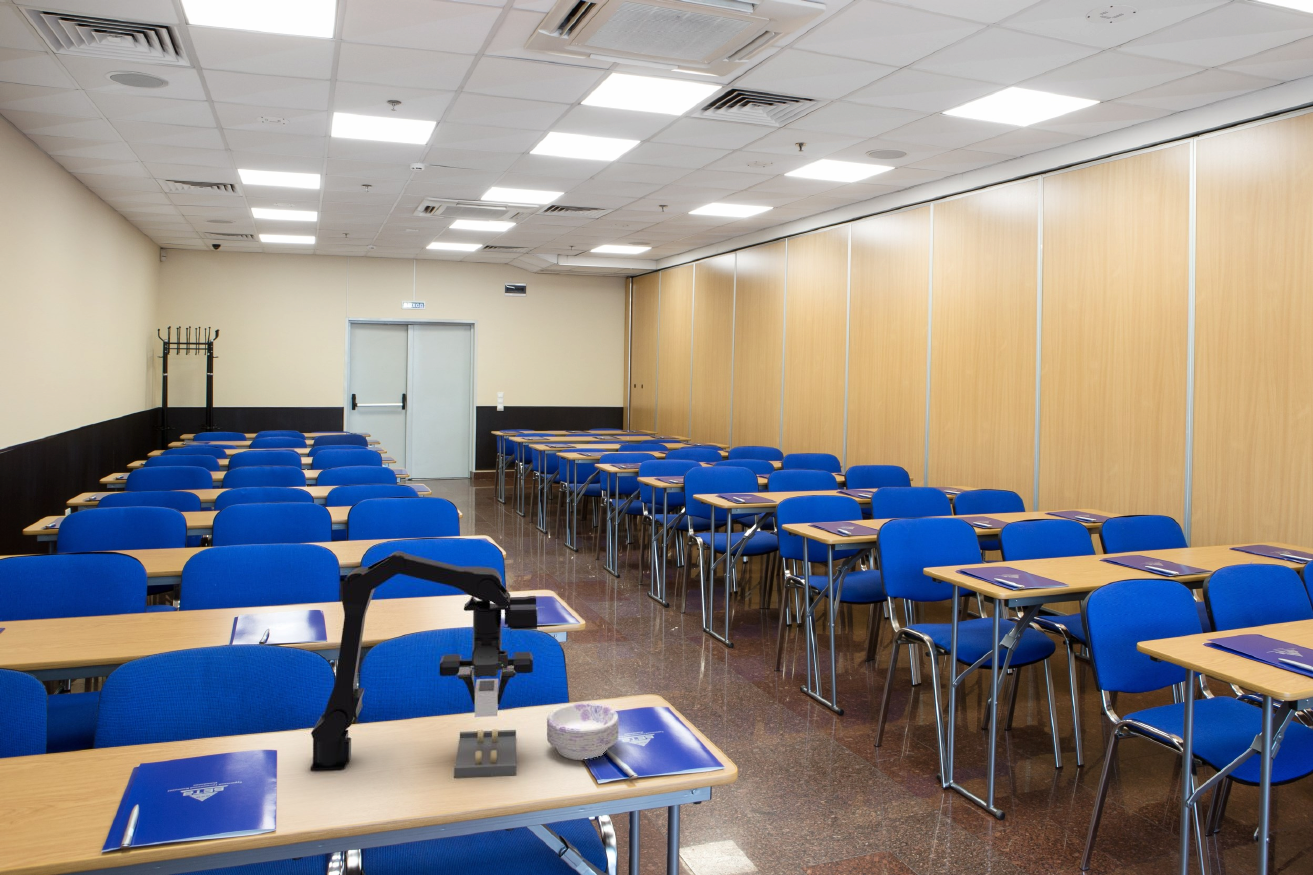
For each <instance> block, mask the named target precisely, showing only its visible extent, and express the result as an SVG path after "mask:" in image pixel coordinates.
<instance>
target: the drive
mask: <svg viewBox="0 0 1313 875" xmlns="http://www.w3.org/2000/svg"><path fill="white" fill-rule="evenodd" d="M498 690H499V678H484V679H483V678H481V679H479V678H477V679H476V682H475V706H474V718H483V717H484V718H485V717H486V718H487V717H498V713H499V712H498V708H499V705H498Z"/></svg>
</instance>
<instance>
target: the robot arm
mask: <svg viewBox="0 0 1313 875" xmlns="http://www.w3.org/2000/svg"><path fill="white" fill-rule="evenodd" d="M397 575H401V576H406V577H411V578H415V579H420V580H424V581H428V582H432V583H436V584H441V585H444V586H448V587H453V588H455V589H458V590H460V591H462V592H463V593H465V594H466V595H468V596H470V598H469V600H468V601H467V602H466V603H464V605H463V610H464V611H465V612H468V611H471V612H472V616H473V617H472V619H473V620H472V652H471V658H468V659H467V658H466V659H462V655H461V653H459V654H457V653H456V654H444V655H443V656H441V659H440V661H439V676H440V677H451V676H453V677H454V676H456V675H457V676H456V678H457V679H458V680H462V681H463V682H464V683H465V685H466V688H467V690H468V693H469V696H470V699H471V703H472V705H473V706H474V707H475V688H476V682H475V678H482V677H490V678H495V677H497V676H498V674H499V670H500V676H499V682H498V706H499V705H501V701H502V698H503V694H505V693H504V692H505V689H506V686H507V685H508V682H509V680H510V679H511V678H515V677H516V676H517V674H531V673H534V672H533V671H534V667H533V666H534V662H533V661H534V660H533V658H534V657H533V654H532V652H530V651H522V652H521V651H520V652H516V651H515V652H513V657H509V650H506V649H505V650H502V611H504V626H507V628H508V629H509V630H510V631H519V630H520V631H521V630H523V631H524V630H525V631H526V630H538V609H537V596H536V595H528V596H514V597H511V594H510V593H509V591H508V589H507V588H506V587H505V585H503V582H502V581H503V580H502V576H501V574H500V572H499V571H498V570H497V569H496V568H493V567H491V566H490V567H489V566H488V567H485V566H458V565H453V564H450V563H445V562H442V561H438V560H433V559H429V558H425V557H421V556H416V555H414V554H413V555H412V554H408V553H406V552H404V551H401V550H397V551H394V552H392V553H391V554H390V555H387V556H386V557H385V558H384V557H383V559H381V560H378V561H376V562H374V563H373V564H371V565H369V566H367V567H365V566H359V567H356V568H354V569H353V570H351V572H349V573H348V575H347V576H346V577H345V578H344V580H343V581H342V584H341V603H342V609H343V614H344V618H343V625H342V631H341V632H342V633H341V640H340V646H339V651H338V652H339V654H338V660H337V667H336V674H335V675H336V676H335V681H334V686H333V688H332V690H331V694H330V696H329V698H328V702H327V704H326V706H325V710H324V712H323V714H321V716H320V717H319V719H318V720H317V722H316V724H315V726H314V727H313V729H312V731H311V732H310V735H311V738H312V764H311V765H310V771H327V770H328V771H330V770H344V769H345V768H346V766H347V764H348V763H349V762H350V760H351V757H352V738H351V737H349V729H348V728H350V727H351V726H352V724H353V722H354V720H355V719H358V716H359V714H360V712H361V710H362V708H363V706H364V705H363V700H362V699H363V695H364V693H365V688H359V687H358V682H357V679H358V678H357V677H358V671H359V664H360V656H361V650H362V641H363V637H364V629H365V622H366V614H367V611H368V609H369V606H370V603H371V602H372V598H373V595H374V592H375V590H376V588H378V587H379V586H382V584H384V583H386V582H387V581H389V580H390V579H392V578H393V577H395V576H397Z"/></svg>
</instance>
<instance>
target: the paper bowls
mask: <svg viewBox="0 0 1313 875" xmlns="http://www.w3.org/2000/svg"><path fill="white" fill-rule="evenodd" d="M619 719H620V717H619V714H618V712H616V710H615V709H613V708H611V707H609V706H606V705H602V704H597V703H590V702H588V703H587V702H585V703H584V702H581V703H571V704H566V705H562V706H560V707H559V706H558V707H557V708H555V709H553V710H552V711H550V712H549V714H548V716H547V718H546V739H547V743H548V744H549V745H550V746H552V747H554V748H556V750H557V752H558V753H559V754H560V755H561V756H562V757H564V758H567V759H570V760H574V761H584V760H583V759H585V758H593V757H597V758H599V757H598V756H600V757H602V755H604V754H605V753H606V752H607V751H606V750H608V749H609V748H611V747H612V746H614V745H615V744H616V742H617V741H618V739H619V725H620V724H619ZM605 751H606V752H605ZM604 752H605V753H604ZM603 753H604V754H603Z"/></svg>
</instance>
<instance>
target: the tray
mask: <svg viewBox="0 0 1313 875" xmlns="http://www.w3.org/2000/svg"><path fill="white" fill-rule="evenodd" d="M458 740H459V741H458V747H457V752H456V753H457V754H456V759H455V765H454V769H453V770H454V774H453V778H454V779H460V778H461V779H463V778H487V777H509V776H517V730H516V729H501V730H500V729H499V730H498V728H497V729H496V728H495V729H492V730H483V729H478V730H476V731H475V730H474V731H473V730H471V731H468V730H467V731H459V739H458Z"/></svg>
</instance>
